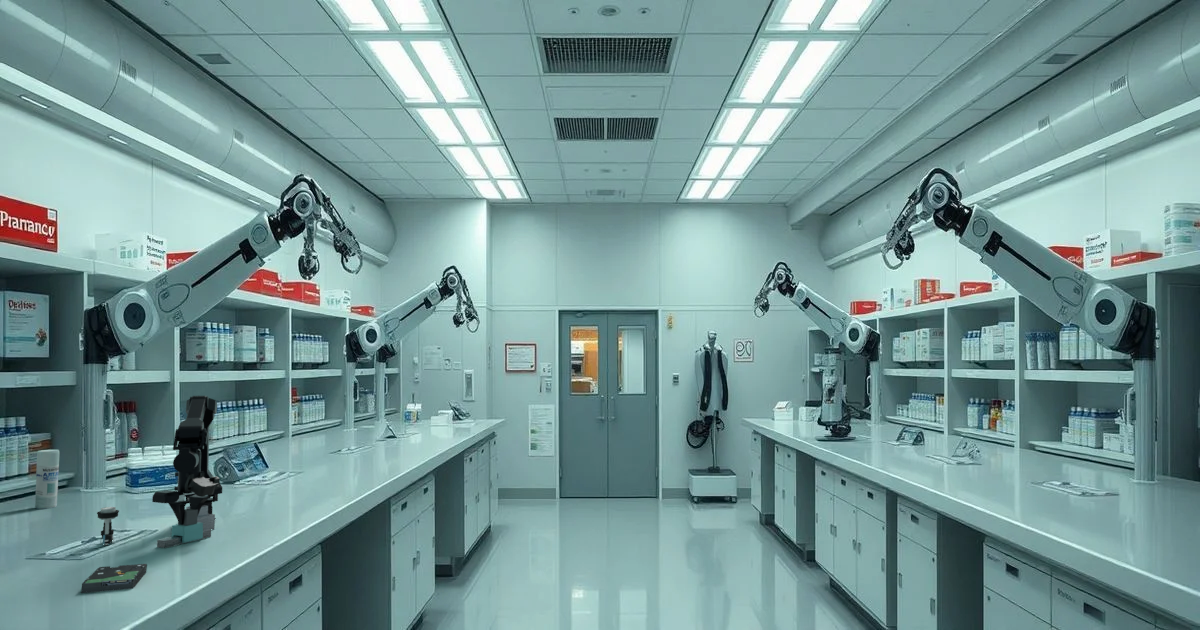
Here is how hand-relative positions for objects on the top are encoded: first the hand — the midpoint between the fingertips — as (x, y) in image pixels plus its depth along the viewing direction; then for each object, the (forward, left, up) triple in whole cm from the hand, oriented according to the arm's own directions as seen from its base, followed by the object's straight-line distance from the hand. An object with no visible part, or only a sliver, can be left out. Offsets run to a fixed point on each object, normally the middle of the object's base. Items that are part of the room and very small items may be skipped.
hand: (187, 523), depth 219 cm
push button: (-18, -11, -5) cm, 22 cm away
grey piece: (-10, +11, -5) cm, 16 cm away
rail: (0, -1, -5) cm, 5 cm away
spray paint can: (-93, +18, -5) cm, 95 cm away
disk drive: (+21, -35, -6) cm, 42 cm away
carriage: (0, 0, -5) cm, 5 cm away
